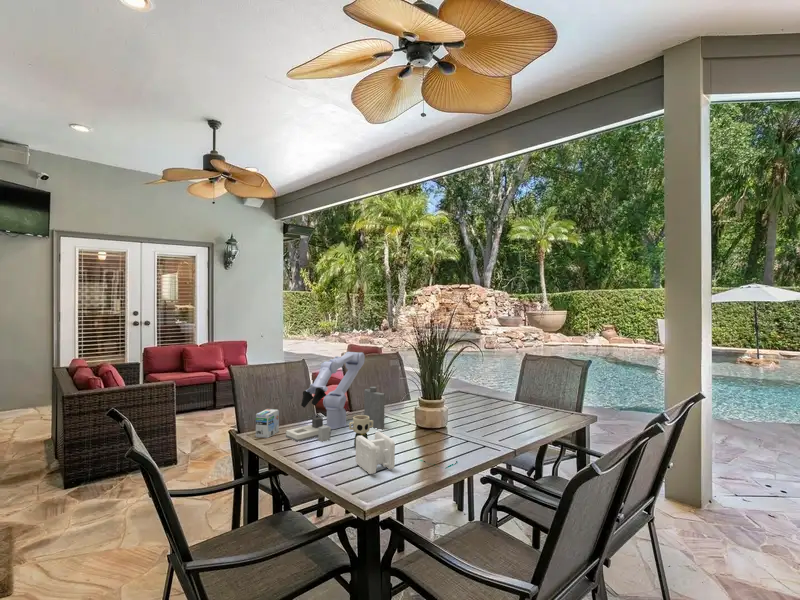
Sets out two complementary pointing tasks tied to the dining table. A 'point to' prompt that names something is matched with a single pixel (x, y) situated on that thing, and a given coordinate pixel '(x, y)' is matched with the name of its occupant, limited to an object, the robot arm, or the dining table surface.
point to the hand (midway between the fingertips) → (308, 405)
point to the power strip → (302, 433)
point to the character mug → (360, 426)
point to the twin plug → (317, 422)
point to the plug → (324, 433)
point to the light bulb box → (267, 423)
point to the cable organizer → (375, 452)
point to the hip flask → (374, 407)
